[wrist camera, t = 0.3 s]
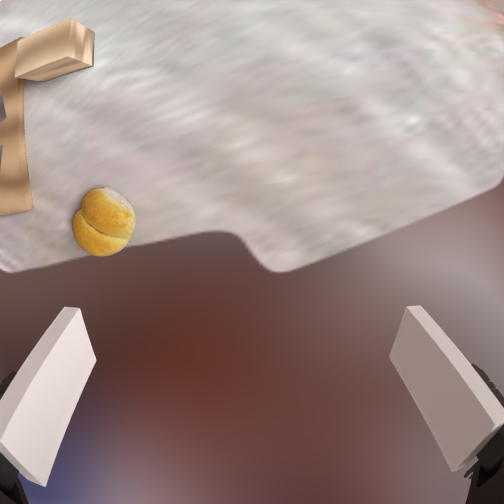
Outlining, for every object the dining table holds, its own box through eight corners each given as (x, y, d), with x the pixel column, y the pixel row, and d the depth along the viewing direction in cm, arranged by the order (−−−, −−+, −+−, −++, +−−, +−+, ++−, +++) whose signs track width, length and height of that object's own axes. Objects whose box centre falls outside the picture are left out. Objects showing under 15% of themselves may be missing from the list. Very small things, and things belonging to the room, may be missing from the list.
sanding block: (46, 50, 26) (17, 41, 20) (95, 33, 26) (70, 18, 20) (44, 81, 28) (14, 77, 22) (93, 66, 28) (67, 56, 22)
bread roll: (70, 229, 36) (56, 239, 33) (99, 176, 34) (85, 181, 30) (115, 264, 39) (104, 277, 35) (148, 213, 36) (139, 222, 33)
